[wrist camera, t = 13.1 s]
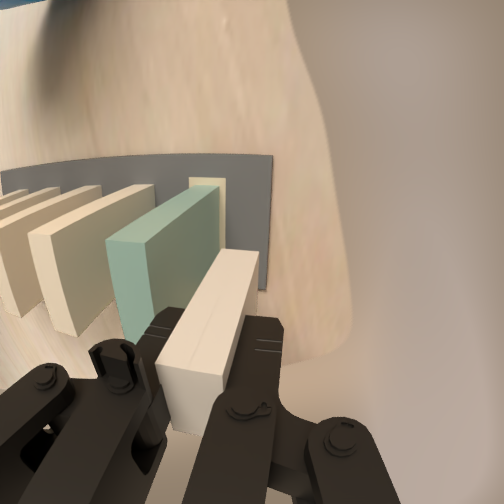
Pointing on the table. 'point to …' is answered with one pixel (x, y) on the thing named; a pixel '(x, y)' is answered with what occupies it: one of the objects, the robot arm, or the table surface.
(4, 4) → the alarm clock
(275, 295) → the table surface
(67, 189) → the mat
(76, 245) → the domino
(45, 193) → the domino
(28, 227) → the domino
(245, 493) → the robot arm
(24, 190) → the domino
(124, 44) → the table surface
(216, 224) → the domino
